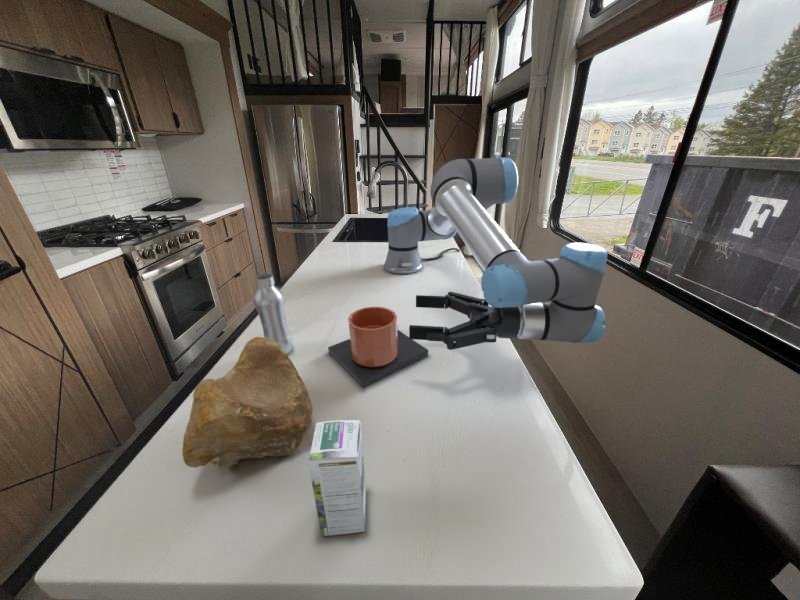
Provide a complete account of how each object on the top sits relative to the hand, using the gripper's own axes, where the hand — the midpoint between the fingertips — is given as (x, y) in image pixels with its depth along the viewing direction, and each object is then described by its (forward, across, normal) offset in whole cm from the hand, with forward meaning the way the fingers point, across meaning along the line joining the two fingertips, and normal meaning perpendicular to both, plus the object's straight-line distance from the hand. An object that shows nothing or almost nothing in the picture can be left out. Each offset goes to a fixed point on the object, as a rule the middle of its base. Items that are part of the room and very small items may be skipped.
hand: (412, 315), depth 68 cm
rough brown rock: (+23, -23, -13) cm, 35 cm away
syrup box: (+6, -34, -13) cm, 37 cm away
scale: (+9, +3, -13) cm, 16 cm away
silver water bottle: (+33, +1, -13) cm, 35 cm away
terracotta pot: (+9, 0, -11) cm, 14 cm away
